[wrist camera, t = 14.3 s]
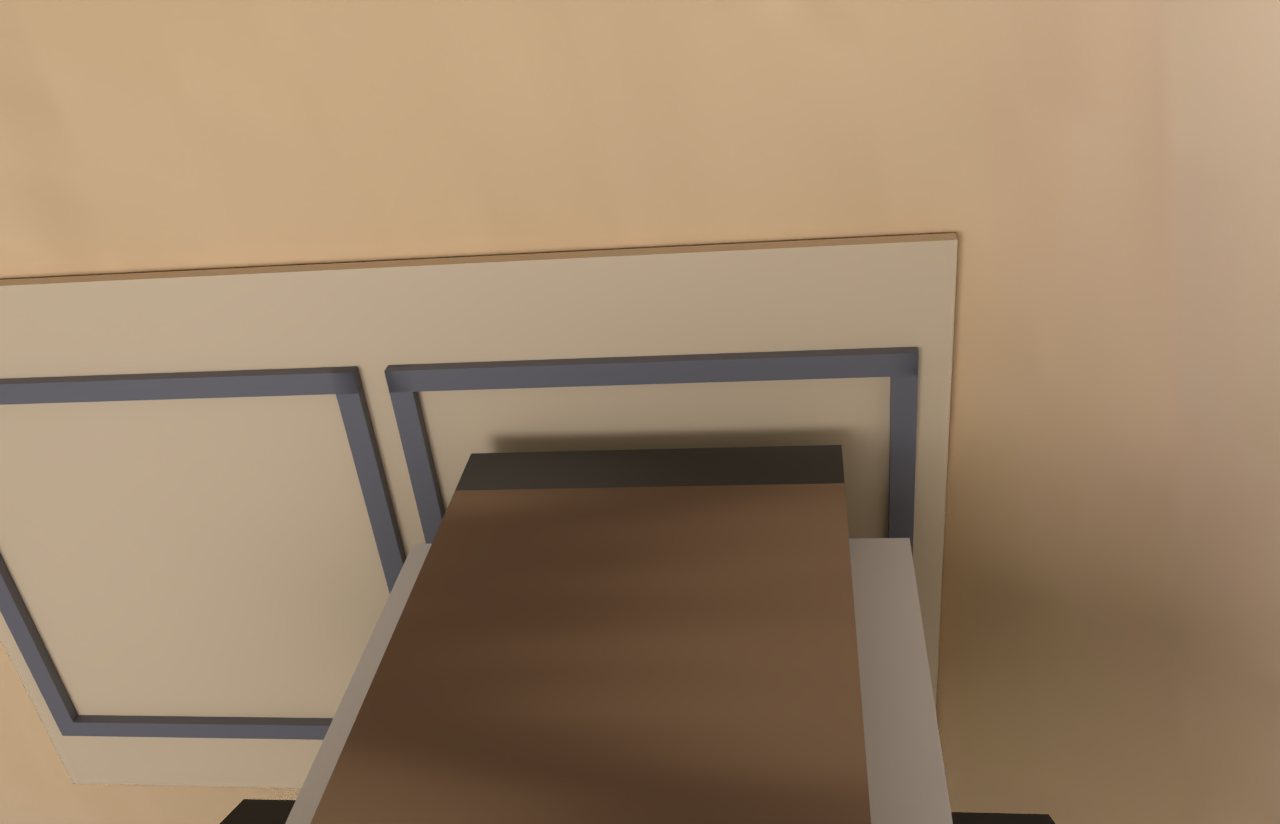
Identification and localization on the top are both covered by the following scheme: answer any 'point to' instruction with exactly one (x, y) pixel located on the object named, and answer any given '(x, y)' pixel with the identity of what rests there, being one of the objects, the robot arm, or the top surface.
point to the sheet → (397, 454)
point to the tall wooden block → (622, 649)
